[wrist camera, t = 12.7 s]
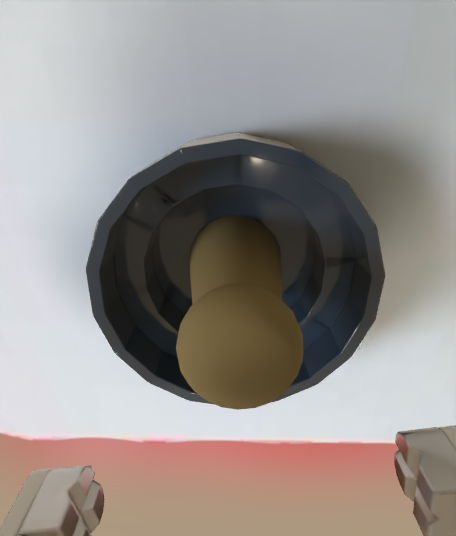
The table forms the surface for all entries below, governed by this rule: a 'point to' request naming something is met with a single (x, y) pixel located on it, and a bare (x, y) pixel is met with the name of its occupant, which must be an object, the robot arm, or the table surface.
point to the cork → (238, 317)
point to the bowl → (230, 204)
